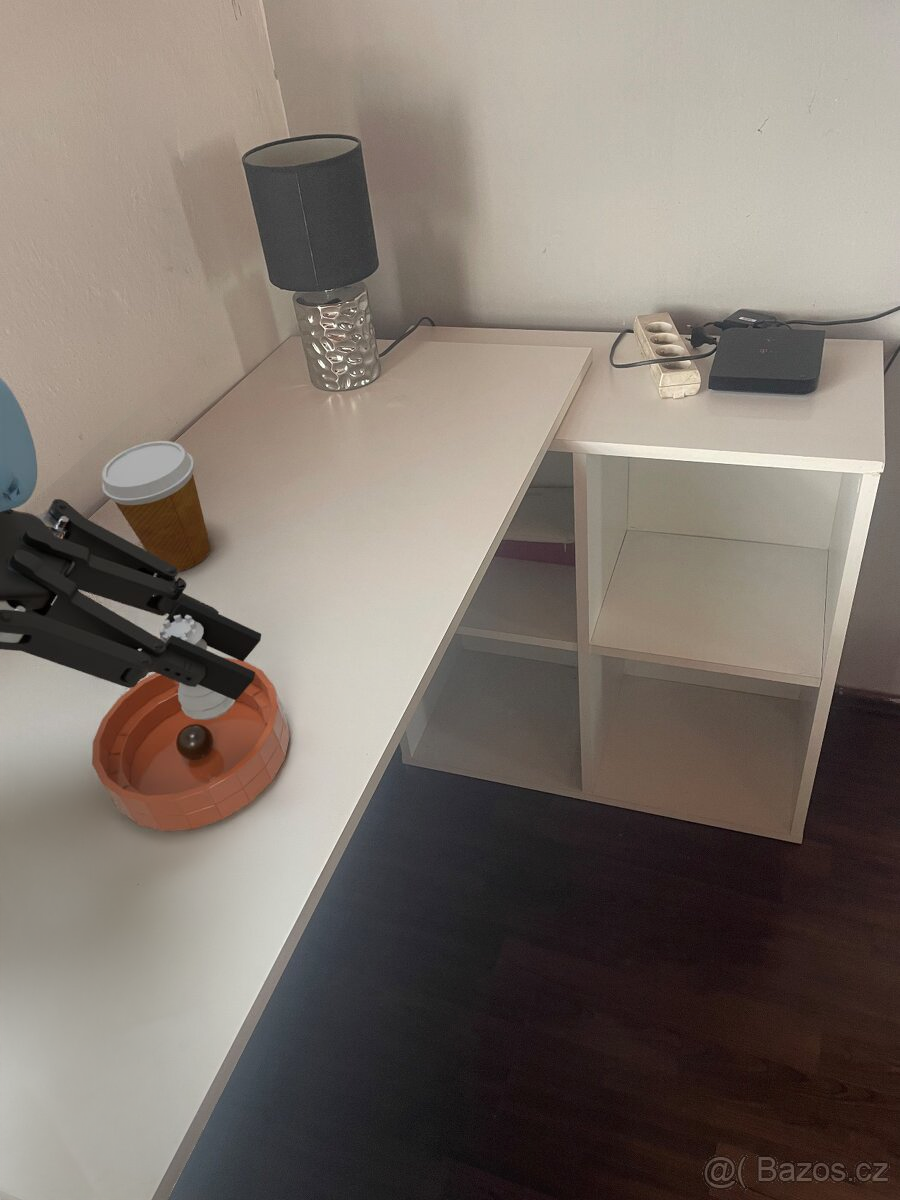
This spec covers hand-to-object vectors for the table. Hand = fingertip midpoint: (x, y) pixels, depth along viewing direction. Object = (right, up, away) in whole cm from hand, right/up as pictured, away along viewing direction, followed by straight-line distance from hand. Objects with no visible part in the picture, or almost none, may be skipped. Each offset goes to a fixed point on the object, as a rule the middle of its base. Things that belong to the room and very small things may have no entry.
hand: (248, 666), depth 65 cm
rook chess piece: (-3, -3, +2) cm, 5 cm away
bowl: (-6, -8, +9) cm, 14 cm away
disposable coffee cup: (-15, +10, +32) cm, 37 cm away
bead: (-6, -7, +8) cm, 12 cm away
